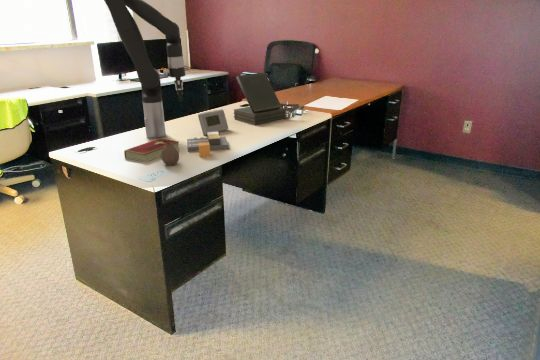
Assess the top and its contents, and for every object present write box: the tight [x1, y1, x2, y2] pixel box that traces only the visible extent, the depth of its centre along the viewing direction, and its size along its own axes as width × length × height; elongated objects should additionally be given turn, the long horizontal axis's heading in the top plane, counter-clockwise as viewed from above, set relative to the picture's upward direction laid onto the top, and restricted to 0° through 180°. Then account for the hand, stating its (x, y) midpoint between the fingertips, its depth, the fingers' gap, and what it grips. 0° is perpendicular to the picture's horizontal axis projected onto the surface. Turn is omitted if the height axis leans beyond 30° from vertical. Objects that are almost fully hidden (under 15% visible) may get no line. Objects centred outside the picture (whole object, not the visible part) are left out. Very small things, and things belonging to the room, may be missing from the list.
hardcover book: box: [123, 137, 180, 163], centre depth 182 cm, size 12×21×4 cm, turn 150°
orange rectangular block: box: [198, 142, 211, 158], centre depth 179 cm, size 4×4×5 cm
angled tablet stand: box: [233, 72, 287, 126], centre depth 236 cm, size 23×20×25 cm
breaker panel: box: [186, 136, 230, 153], centre depth 191 cm, size 18×14×3 cm
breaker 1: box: [206, 132, 220, 138], centre depth 193 cm, size 5×5×3 cm
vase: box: [160, 143, 180, 167], centre depth 167 cm, size 7×7×9 cm
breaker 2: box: [207, 134, 221, 145], centre depth 188 cm, size 5×5×3 cm
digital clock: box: [197, 108, 229, 136], centre depth 214 cm, size 16×9×11 cm, turn 123°
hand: (180, 100), depth 206 cm, fingers open, 8 cm apart
